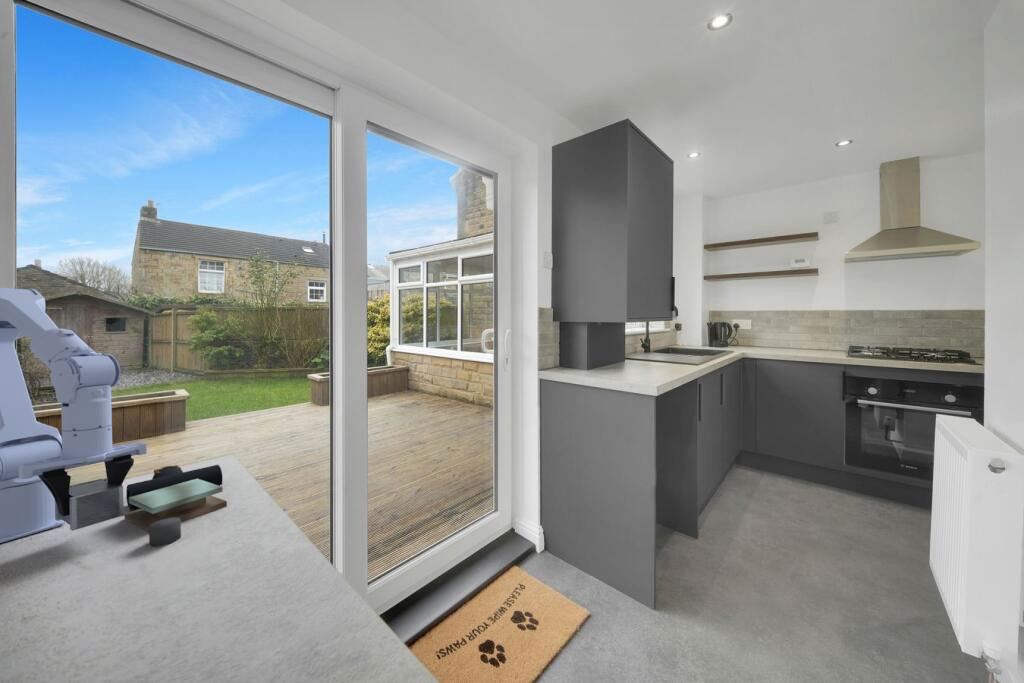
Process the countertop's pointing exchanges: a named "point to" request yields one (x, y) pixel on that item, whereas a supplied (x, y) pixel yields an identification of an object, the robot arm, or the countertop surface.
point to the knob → (164, 532)
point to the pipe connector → (173, 479)
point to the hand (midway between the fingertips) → (89, 507)
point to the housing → (92, 503)
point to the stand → (175, 503)
